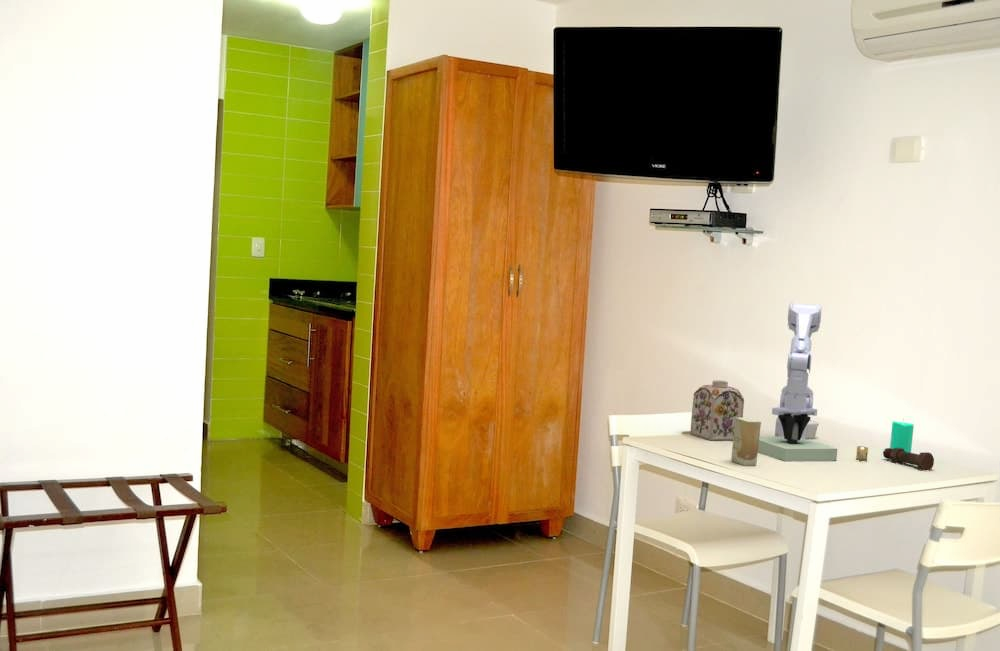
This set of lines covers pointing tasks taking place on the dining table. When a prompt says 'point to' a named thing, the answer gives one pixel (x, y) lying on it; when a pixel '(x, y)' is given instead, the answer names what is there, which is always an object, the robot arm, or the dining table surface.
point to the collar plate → (796, 450)
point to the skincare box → (746, 441)
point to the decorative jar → (716, 411)
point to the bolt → (910, 458)
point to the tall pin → (794, 434)
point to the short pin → (862, 453)
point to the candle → (901, 435)
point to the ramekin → (811, 429)
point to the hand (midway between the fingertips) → (792, 439)
